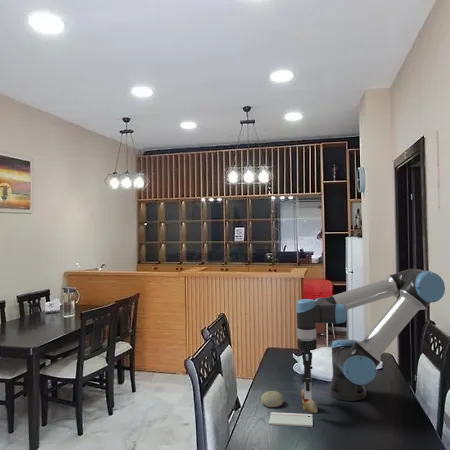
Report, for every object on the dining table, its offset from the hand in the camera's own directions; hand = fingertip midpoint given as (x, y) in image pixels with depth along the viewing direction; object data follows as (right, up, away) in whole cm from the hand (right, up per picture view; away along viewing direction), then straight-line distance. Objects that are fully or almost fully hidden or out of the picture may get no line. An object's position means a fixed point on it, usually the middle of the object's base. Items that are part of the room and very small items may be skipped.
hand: (308, 391), depth 166 cm
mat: (-8, -7, -10) cm, 15 cm away
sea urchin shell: (-13, -8, +6) cm, 17 cm away
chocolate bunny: (+1, -7, 0) cm, 7 cm away
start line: (-7, -7, -5) cm, 11 cm away
